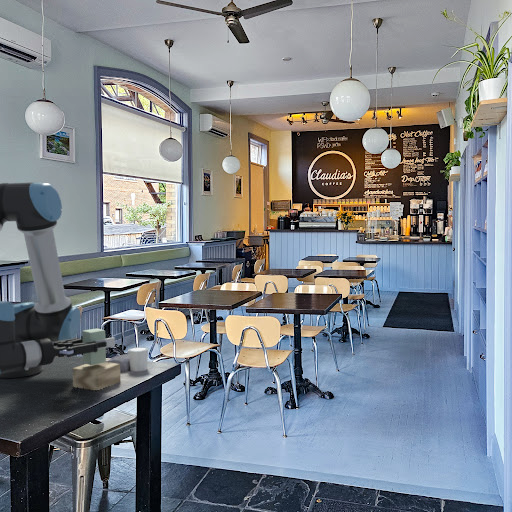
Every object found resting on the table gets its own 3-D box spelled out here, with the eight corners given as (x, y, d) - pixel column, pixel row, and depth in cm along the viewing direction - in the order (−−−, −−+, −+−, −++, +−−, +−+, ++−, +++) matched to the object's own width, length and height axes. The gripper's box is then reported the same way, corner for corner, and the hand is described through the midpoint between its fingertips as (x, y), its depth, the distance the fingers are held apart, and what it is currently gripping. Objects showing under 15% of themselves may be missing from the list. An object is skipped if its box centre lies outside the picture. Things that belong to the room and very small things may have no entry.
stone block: (101, 376, 185) (128, 371, 183) (99, 362, 185) (125, 357, 183) (117, 368, 197) (143, 364, 195) (115, 355, 197) (140, 350, 195)
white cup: (152, 367, 188) (152, 347, 188) (140, 372, 182) (140, 352, 181) (136, 365, 191) (136, 346, 190) (124, 370, 185) (123, 350, 184)
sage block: (83, 362, 168) (82, 330, 168) (97, 359, 172) (97, 328, 171) (91, 365, 165) (90, 332, 164) (105, 362, 168) (105, 330, 168)
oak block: (73, 387, 167) (72, 368, 166) (96, 379, 176) (95, 360, 175) (98, 391, 162) (97, 371, 162) (120, 382, 171) (120, 364, 171)
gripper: (24, 360, 162) (95, 347, 178) (50, 371, 149) (124, 356, 166) (23, 335, 162) (95, 325, 178) (49, 344, 149) (124, 332, 165)
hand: (109, 340), depth 172 cm, fingers closed on sage block, 5 cm apart
